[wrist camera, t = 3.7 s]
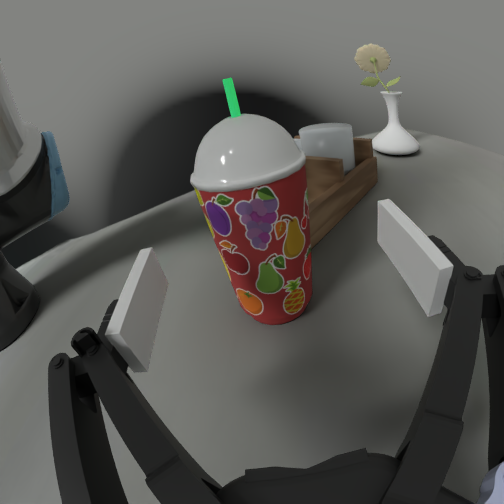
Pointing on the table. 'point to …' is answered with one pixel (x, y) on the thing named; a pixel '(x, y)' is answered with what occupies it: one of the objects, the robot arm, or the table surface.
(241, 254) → the smoothie
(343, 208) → the rack
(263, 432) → the table surface
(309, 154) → the mug
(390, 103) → the flower in vase
